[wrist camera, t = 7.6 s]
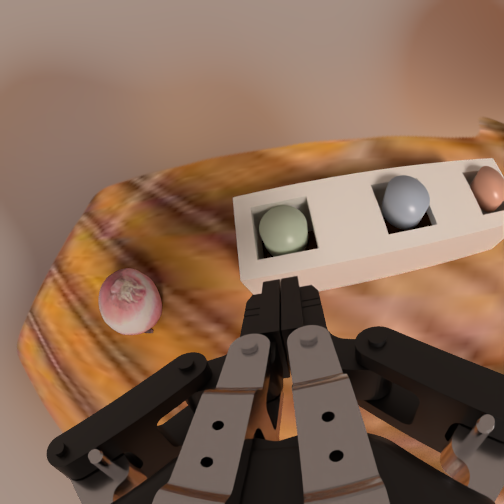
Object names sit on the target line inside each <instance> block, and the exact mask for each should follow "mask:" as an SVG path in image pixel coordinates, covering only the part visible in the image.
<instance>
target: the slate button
mask: <svg viewBox="0 0 504 504" xmlns="http://www.w3.org/2000/svg"><path fill="white" fill-rule="evenodd" d="M429 204H430V197H429V193H428V191H427V189H426V188H425V186H424V185H423V184H422V183H421V182H420V181H418V180H417V179H415V178H413V177H411V176H406V175H400V176H396V177H394V178H392V179H391V180H390V181H389V183H388V185H387V188H386V191H385V195H384V198H383V201H382V205H381V208H382V213H383V215H384V217H385V219H386V220H387V221H388V222H389V223H390V224H391V225H393V226H394V227H396V228H399V229H404V230H407V229H412V228H414V227H415V226H417V225H418V223H419V222H420V220H421V219H422V217H423V215H424V214H425V212H426V211H427V209H428V207H429Z"/></svg>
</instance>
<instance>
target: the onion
mask: <svg viewBox="0 0 504 504" xmlns="http://www.w3.org/2000/svg"><path fill="white" fill-rule="evenodd" d="M99 308H100V312H101V315H102V317H103V319H104V321H105V322H106V323H107V324H108V325H109V326H110V327H111V328H112V329H114V330H115V331H117V332H118V333H121V334H124V335H125V334H126V335H136V334H141V333H153V329H152V330H151V328H152V327H153V326H154V325H155V324H156V323H157V321H158V320H159V318H160V316H161V312H162V302H161V298H160V294H159V292H158V289H157V288H156V286H155V284H154V282H153V281H152V280H151V279H150V278H149V277H147V276H146V275H145V274H143V273H141V272H139V271H138V270H135V269H132V268H125V269H121V270H118V271H116V272H114V273H113V274H111V275H110V276H109V277H108V278H107V279H106V280H105V281H104V283H103V284H102V286H101V289H100V293H99Z"/></svg>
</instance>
